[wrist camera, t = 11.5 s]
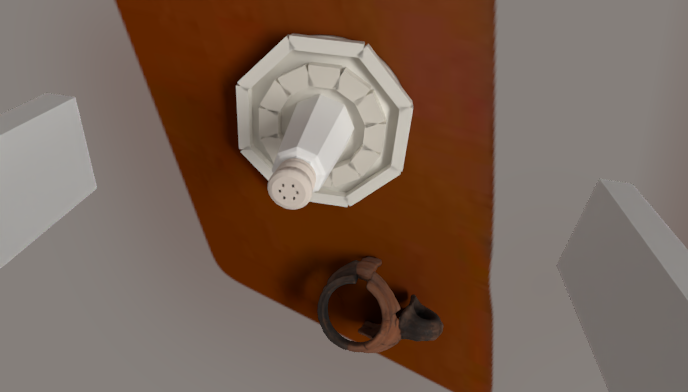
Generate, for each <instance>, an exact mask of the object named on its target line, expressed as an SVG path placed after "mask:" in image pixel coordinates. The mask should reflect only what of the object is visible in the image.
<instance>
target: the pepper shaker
mask: <svg viewBox="0 0 688 392" xmlns="http://www.w3.org/2000/svg"><path fill="white" fill-rule="evenodd" d="M353 130H354V126H353V124H352V121H351V119H350V116H349V114H348V112H347V109H346V107H345V105H344V104H342V103H340V102H337V101H335V100H333V99H331V98H328V97H326V96H324V95H322V94H319V95H316V96H314V97H311V98H308V99H306V100H303V101H300V102H298V103H297V105H296V107H295V110H294V112H293V115H292V117H291V120H290V122H289V125H288V127H287V130H286V132H285V135H284V138H283V140H282V143H281V145H280V148H279V151H278V153H277V156H276V159H275V161H274V164H273V167H272V172H273V175H272V176H271V177H270V178H269V181H268V187H267V189H268V193H269V195H270V197H271V199H272V200H273V201H274V202H275V203H276V204H278V205H279V206H281V207H284V208H287V209H299V208H302V207H304V206H305V205H307V204H308V202H309V201H310V199H311V197H312V193H313V192H316V191H319V189H320V188H321V187H322V185H323V184H324V182H325V180H326V179H327V177H328V175H329V174H330V172H331V171H332V169H333V167H334V166H335V164H336V162H337V161H338V159H339V158H340V156H341V154H342V153H343V151H344V149H345V147H346V145H347V143H348V141H349V139H350V136H351V134H352V132H353Z"/></svg>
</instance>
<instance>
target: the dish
mask: <svg viewBox="0 0 688 392" xmlns="http://www.w3.org/2000/svg"><path fill="white" fill-rule="evenodd" d="M237 83H238V84H237V85H236V101H237V121H238V142H239V149H242V150H241V151H240V152H241V153H242V154H243V155H244V156H245V157H246V158H247V159H248V160H249V161H250V162H251V163H252V164H253V165H254V167H255V168H256V169H257V170H258V171H259V172H260V173H261V174H262V175H263V176H264V177H265V178H266V179H267V180H268V181H269V178H270V177H271V176H272V175H273V172H272V167H273V164H274V161H275V159H276V156H277V153H278V151H279V148H280V145H281V143H282V140H283V138H284V135H285V132H286V130H287V127H288V125H289V122H290V120H291V117H292V115H293V112H294V110H295V107H296V105H297V103H298V102H300V101H303V100H306V99H308V98H311V97H314V96H316V95H319V94H322V95H324V96H326V97H328V98H331V99H333V100H335V101H337V102H340V103H342V104H344V105H345V107H346V109H347V112H348V114H349V116H350V119H351V121H352V124H353V126H354V130H353V132H352V134H351V136H350V139H349V141H348V143H347V145H346V147H345V149H344V151H343V153H342V154H341V156H340V158H339V159H338V161H337V162H336V164H335V166H334V167H333V169H332V171H331V172H330V174H329V175H328V177H327V179H326V180H325V182H324V184H323V185H322V187H321V188H320V189H319V191H316V192H313V193H312V197H311V199H310V201H309V202H316V203H323V204H329V205H336V206H343V207H348V205H349V206H352V205H353V204H355V203H357V202H358V201H360V200H361V199H363V198H364V197H366V196H367V195H369V194H371V193H372V192H374V191H375V190H377V189H378V188H380V187H381V186H383V185H384V184H386V183H388V182H389V181H391V180H392V179H394V178H395V177H397V176H398V175H400V174H401V171H403V165H404V159H405V153H406V147H407V142H408V136H409V130H410V124H411V118H412V112H413V104H412V100H411V99H410V97H409V96H408V95H407V93H406V92H405V91H404V90H403V88H402V87H401V85H400V82H399V80H398V79H397V77H396V76H395V74H394V73H393V71H392V70H391V69H390V67H389V66H388V65H387V64H386V63H385V62H384V61H383V60H382V59H381V58H380V57H379V56H378V55H377V54H376V53H375V52H374V50H373V49H372V48H371V47H370V45H369V44H367V45H366V46H365V42H363V41H354V40H349V39H346V38H343V37H339V36H333V35H319V34H318V35H302V34H293V33H292V34H290V35H287V36H286V37H285V38H284V39H283V40H282V41H281V42H279V43H278V44H277V45H276V46H275V47H274V48H273V49H272V50H271V51H270V52H269V53H268V54H267V55H266V56H265V57H264V58H262V59H261V60H260V61H259V62H258V63H257V64H256V65H255V66H254V67H253V68H252V69H251V70H250V71H249V72H248V73H247V74H245V75H244V76H243V77H242V78H241V79H240V80H239V81H238V82H237Z"/></svg>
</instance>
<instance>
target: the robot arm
mask: <svg viewBox="0 0 688 392" xmlns="http://www.w3.org/2000/svg"><path fill="white" fill-rule="evenodd" d="M96 188H97V185H96V181H95V177H94V173H93V168H92V165H91V160H90V156H89V152H88V148H87V143H86V140H85V135H84V131H83V127H82V123H81V118H80V114H79V110H78V106H77V102H76V98H75V97H72V96H66V95H59V94H52V93H45V94H43V95H41V96H39V97H36V98H34V99H32V100H30V101H28V102H25V103H24V104H21V105H19V106H17V107H15V108H12V109H10V110H8V111H6V112H4V113H1V114H0V269H1V268H2V267H3V266H4V265H5V264H6V263H8V262H9V261H10V260H11V259H13V258H14V257H15V256H16V255H17V254H19V253H20V252H21V251H22V250H23V249H25V248H26V247H27V246H28V245H29V244H31V243H32V242H33V241H34V240H35V239H37V238H38V237H39V236H40V235H41V234H42V233H44V232H45V231H46V230H47V229H49V228H50V227H51V226H52V225H53V224H55V223H56V222H57V221H58V220H59V219H60V218H62V217H63V216H64V215H66V214H67V213H68V212H69V211H70V210H71V209H72V208H74V207H75V206H76V205H78V204H79V203H80V202H81V201H82V200H83V199H85V198H86V197H87V196H88V195H89V194H91V193H92V192H93V191H94V190H96ZM557 268H558V270H559V272H560V275H561V277H562V280H563V282H564V285H565V287H566V289H567V292H568V294H569V297H570V299H571V301H572V304H573V306H574V309H575V311H576V313H577V316H578V318H579V321H580V323H581V326H582V328H583V330H584V333H585V335H586V337H587V340H588V342H589V345H590V347H591V350H592V352H593V354H594V357H595V359H596V362H597V364H598V366H599V369H600V371H601V374H602V376H603V379H604V381H605V383H606V386H607V388H608V390H609V392H688V250H687V248H686V247H685V246H684V245H683V244H682V242H681V241H680V240H679V239H678V238H677V236H676V235H675V234H674V233H673V232H672V230H671V229H670V228H669V227H668V226H667V224H666V223H665V222H664V221H663V220H662V218H661V217H660V216H659V215H658V214H657V212H656V211H655V210H654V209H653V208H652V207H651V205H650V204H649V203H648V202H647V201H646V199H645V198H644V197H643V196H642V195H641V193H640V192H639V191H638V190H637V189H636V187H635V186H634V185H633V184H631V183H625V182H619V181H612V180H605V179H599V180H598V182H597V184H596V186H595V188H594V190H593V193H592V194H591V196H590V198H589V200H588V202H587V205H586V207H585V209H584V211H583V213H582V215H581V217H580V219H579V221H578V223H577V225H576V227H575V229H574V231H573V233H572V235H571V237H570V239H569V241H568V243H567V245H566V247H565V249H564V251H563V253H562V255H561V257H560V260H559V262H558V264H557Z"/></svg>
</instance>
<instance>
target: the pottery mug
mask: <svg viewBox="0 0 688 392" xmlns="http://www.w3.org/2000/svg"><path fill="white" fill-rule="evenodd" d="M381 264H382V261H381V260H380V259H378V258H374V257H366V258H362V260H361V261H358V260H355V261H352V262H350V263H348V264H346V265H345V266H343V267H341V268H340V269H338V270H337V271H336V272H334V273H333V275H332V276H331V277H330V278H329V279H328V283H327V285H326V286H325V287H324V288H323V291H322V293H321V295H320V299H319V302H318V319H319V321H320V325H321V327H322V329H323V332H324V333H325V334H326V336H327V337H328V339H329V340H330V341H331V342H333V343H334V344H336V345H337V346H338V347H340V348H342V349H345V350H349V351H353V352H364V353H377V352H381V351H384V350H387V349H389V348H391V347H393V346H394V345H396V344H397V343H398V342H399V341H400V340H401V339H410V340H414V341H429V340H435V339H436V338H437V337H439V336H440V334H441V333H442V331H443V323H442V322H441V320H440V318H439V316H438V315H437V314H436V313H434V312H433V311H431V310H430V309H428V308H426V307H425V306H423V305H422V304H421V303H420V302H419V301H418V299H417V297H416V296H415V295H412V296H411V301H410V304H409V305H408V306H407V307H406V308H405V309H404V310H403V311H402V313H401V314H400V318H399V320H398V319H397V317H396V312H398V311H399V310H400V309H401V308H400V305H399V304H398V301H397V299H396V298H395V295H394V293H393V292H392V291H391V289H390V288H389V287H388V285H387V283H386V282H385V281H384V280H383V278H381V277H380V276H379V275H378V274H377V273H375V271H376V269H377V267H379V266H380V265H381ZM358 278H359V279H362V280H366V281H367V282H368V283H367V286H366V288H367V289H368V290H369V291H370V292H371V293H372V294H373V296H374V297H375V298H376V299H377V301H378V303H379V306H380V308H381V313H382V324H381V325H379V324H374V323H371V322H369V321H365V323H364V324H363V326H362V327H361V328H360V329H359V330H358V332H359V333H360V334H362V335H365V336H367V337H368V338H371V340H369V341H366V342H354V341H349V340H347V339H345V338H344V337H342V336H341V335H340V334H339V333H338V332H337V331H336V330H335V329H334V328H333V326H332V324H331V322H330V320H329V316H328V301H329V298H330V296H331V294H332V293H333V292H334V291H335V289H337V288H338V287H340V286H342V285H345V284H356V282H357V279H358Z"/></svg>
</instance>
